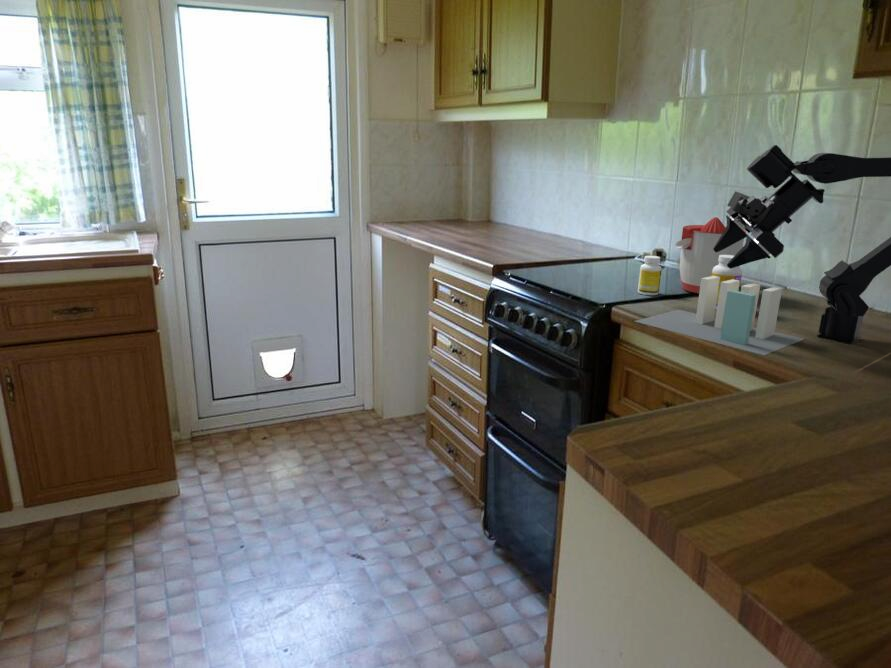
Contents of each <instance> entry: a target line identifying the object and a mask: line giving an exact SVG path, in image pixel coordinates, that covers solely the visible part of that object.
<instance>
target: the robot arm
mask: <svg viewBox="0 0 891 668" xmlns="http://www.w3.org/2000/svg"><path fill="white" fill-rule="evenodd" d="M746 170H747V171H748V172H749V173H750V174H751V175H752V176H753V177H754V178H755V179H756V180H757V181H758V182H759V183H760V184H761V185H762V186H764V188H766V189H768V188H771V187H772V188H773V189H776V188H778V189H777V190H776V191H775V192H773V193H772V194H771V195H770V196H769V197H768V196H766V195H763V196H761V198H758V197H757V198H756V197H755V196H754V195H753V196H752V195H751V196H749V195H747V194H744V193H741V192H739V191H734V193H733V194H732V196H731V198H730V200H729V201H728V203H727V207H730V208H728V209H727V210H726V213H727V214H726V216H725V218H726V226H725V227H726V228H725V230H724V232H723V234H722V235H721V237H720V239H719V240H718V242H717V243H716V245H715V247H714V248H713V250H714V251H715V252H716V253H717V252H719V251H721V250H723V249H725V248H727V247H729V246H731V245H733V244H734V243H736V242H738V241H740V240H742V239H744V240H745V243H744V244H743V247H742V249H741V250H740V251H739V252H738V253H737V254H736V255H735V256H734V257H733V258H732V259H731V260H730V261H729V263H728V264H727V266H728V267H729V268H730V269H731V268H734V267H737V266H740V267H741V266H744V265H746V264H750V263H753V262H757V261H760V260H764V259H771V258H772V257H773V258H774V259H776V258H778V257H779V256H780V255H781V254H783V252H784V248H785V245H784V244H783V243H782V242H781V241H780V240H779V238H777V237H776V234H775V233H774V231H776V230H777V229H778V228H780V226H781V225H783V224H784V223H786V224H787V225H789V224H791V222H792V221H793V219H792V218H791V217H792V216H793V215H794V214H795V213H797V212H798V211H799V210H800V209H801V208H802V207H803V206H805V205H806V204H808V202H809V201H810V200H814V201H815V202H816V203H818V204H823V203H824V194H825V189H824V188H817V187H815V185H813V184H812V182H814V183H819V184H825V185H826V184H833V183H834V184H835V183H838V182H844V181H849V180H854V179H859V178H880V177H882V178H884V177H886V178H887V177H889V178H891V156H884V157H883V156H881V157H877V156H875V157H858V156H853V155H846V154H841V153H840V154H838V153H833V152H832V153H830V152H819V153H815V154H813V155H812V156H811V157H810V158H808V159H807V160H802V161H795V162H793V160H791V159H790V158H789V157H788V156H787V155H786V154H785V153H784V152H783V150H782V148H780V147H779V145H777V144H774V145H772V146H771V147H770V148H769V149H767V150H765V151H764V152H763V153H762V154H760V155H758V156H757V157H756V158H755V159H754V160H753V161H751V163H750V164H749V165H748V166H747V168H746ZM795 174H796V175H797V174H799V175H802V176H806V177H807V178H808V179H809V180H808V179H804V180H801V179H799V178H798V176H796V175H795ZM786 180H787V181H786ZM810 181H812V182H810ZM783 183H784V184H783ZM779 186H781V187H779ZM743 230H745V231H746V233H745V232H744V231H743ZM749 234H750V235H751V236H752V237H753V238H751V236H750V235H749ZM770 255H771V256H772V257H771V256H770ZM890 267H891V236H890V237H889V238H887V239H886V240H885V241H883V242H882V243H881V244H879V245H878V246H876V247H875V248H874V249H872V250H871V251H869V252H868V253H866V254H865V255H864V256H863V257H861V258H860V259H858V260H856V261H854V262H852V263H847V262H846V261H844V260H840V261H839V262H837V264H836V265H835V266H833V267H832V268H831V269H830V270H826V271H824V276H823V277H822V278H820V281H819V287H818V289H819V293H820V294H821V295H822V296H823V297H824V298H825V299H826V303H827V305H828V307H825V311H824V313H823V314H821V318H820V321H819V322H820V323H819V329H818V334H817V335H816V338H819V339H823V340H828V341H833V342H837V343H840V344H841V343H842V344H846V345H852V344H854V343H857V342H859V341H861V340H862V339H863V338H862V337H860V334H861V329H862V324H863V319H864V316H865V314H866V313H867V311H868V310H869V308H870V307H869V305H868V304H867V303H866V301H864V299H862V297H861V295H862V294H863V293H864V292H865V291H866V290H868V287H869V286H870V284H871V283H872V281H873V280H874V279H875V278H876V276H878V275H879V274H882V272H884V271H885V270H887V269H888V268H890Z"/></svg>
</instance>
